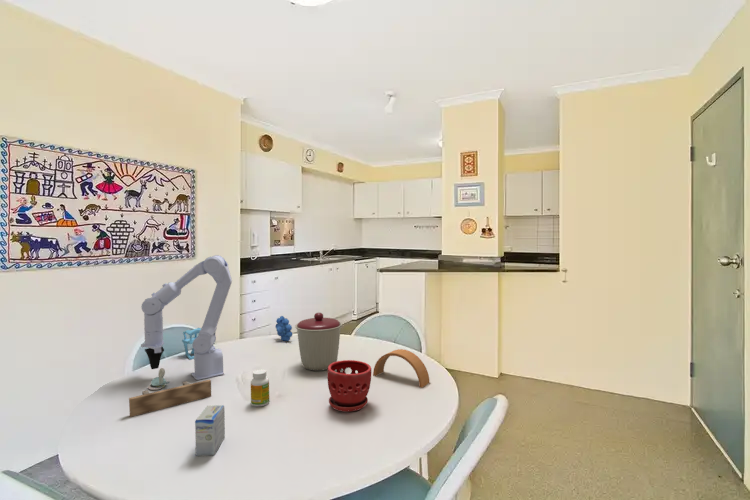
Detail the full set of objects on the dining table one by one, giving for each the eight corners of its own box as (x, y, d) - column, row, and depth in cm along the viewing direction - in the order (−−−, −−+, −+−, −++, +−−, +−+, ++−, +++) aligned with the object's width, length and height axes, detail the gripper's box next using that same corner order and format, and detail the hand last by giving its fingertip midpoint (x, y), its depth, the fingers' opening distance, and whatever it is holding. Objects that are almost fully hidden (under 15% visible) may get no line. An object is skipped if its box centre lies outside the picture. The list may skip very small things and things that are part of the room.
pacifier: (152, 393, 127) (171, 387, 132) (151, 374, 127) (170, 369, 131) (144, 387, 132) (163, 382, 136) (143, 369, 132) (162, 364, 136)
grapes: (269, 340, 189) (268, 316, 188) (280, 337, 194) (280, 314, 193) (284, 344, 181) (283, 319, 181) (295, 341, 186) (295, 316, 186)
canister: (286, 371, 146) (285, 315, 145) (311, 357, 163) (310, 307, 162) (328, 377, 139) (327, 319, 138) (350, 361, 156) (349, 309, 155)
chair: (197, 351, 172) (196, 325, 171) (207, 355, 167) (206, 327, 166) (180, 356, 165) (179, 328, 165) (190, 359, 161) (189, 331, 160)
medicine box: (207, 439, 98) (206, 405, 97) (225, 438, 98) (224, 404, 98) (195, 456, 90) (194, 420, 89) (215, 455, 90) (214, 419, 90)
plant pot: (337, 419, 107) (337, 376, 107) (321, 401, 119) (321, 363, 118) (379, 409, 113) (379, 369, 113) (360, 393, 125) (359, 356, 124)
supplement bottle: (264, 407, 115) (263, 375, 115) (247, 406, 116) (246, 374, 116) (272, 400, 120) (271, 369, 120) (256, 398, 121) (255, 368, 121)
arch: (382, 371, 145) (382, 345, 145) (429, 383, 133) (429, 354, 133) (373, 376, 140) (372, 348, 140) (421, 388, 129) (421, 358, 128)
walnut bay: (202, 386, 132) (201, 371, 132) (211, 396, 124) (210, 380, 123) (125, 404, 118) (125, 388, 118) (130, 417, 110) (129, 399, 110)
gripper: (137, 328, 141) (138, 365, 142) (144, 336, 130) (145, 376, 131) (159, 325, 146) (160, 361, 146) (167, 333, 134) (168, 371, 135)
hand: (154, 368), depth 139 cm, fingers closed
